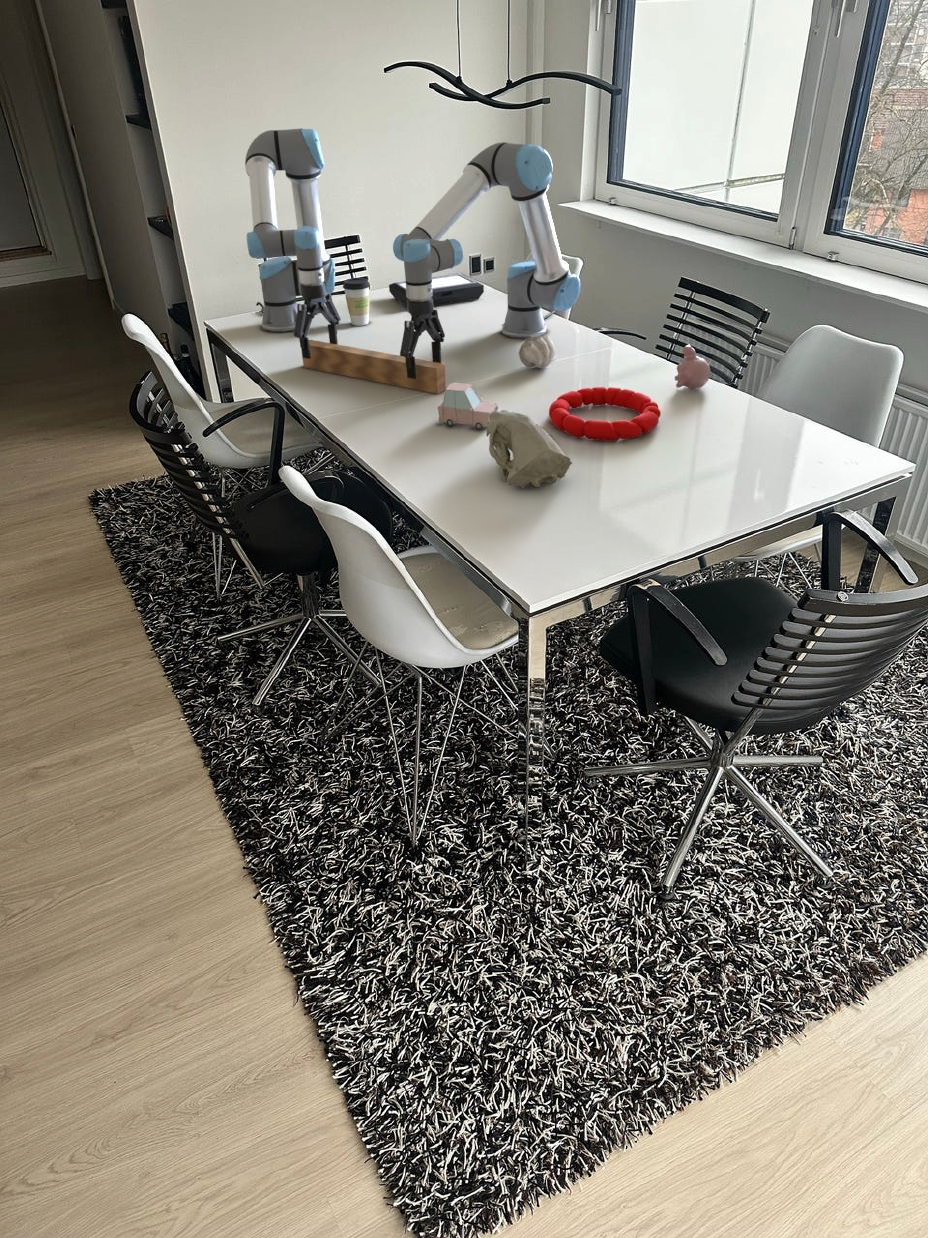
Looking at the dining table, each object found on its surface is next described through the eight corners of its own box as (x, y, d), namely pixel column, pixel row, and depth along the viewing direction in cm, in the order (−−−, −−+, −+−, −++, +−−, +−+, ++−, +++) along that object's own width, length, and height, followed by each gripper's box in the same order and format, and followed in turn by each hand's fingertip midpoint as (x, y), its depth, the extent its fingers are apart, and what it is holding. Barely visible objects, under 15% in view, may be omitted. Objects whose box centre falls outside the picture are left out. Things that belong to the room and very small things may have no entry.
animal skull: (496, 517, 219) (521, 479, 201) (463, 429, 225) (484, 384, 207) (557, 503, 225) (586, 465, 206) (523, 417, 231) (549, 373, 212)
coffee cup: (372, 326, 323) (368, 283, 314) (345, 327, 323) (340, 284, 315) (374, 318, 331) (371, 276, 322) (348, 319, 331) (344, 277, 323)
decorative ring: (589, 435, 224) (684, 402, 234) (527, 398, 247) (617, 369, 256) (589, 461, 229) (683, 427, 238) (529, 422, 251) (617, 393, 260)
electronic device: (407, 294, 335) (388, 282, 350) (408, 310, 338) (389, 298, 353) (483, 282, 345) (462, 272, 360) (483, 299, 348) (463, 287, 364)
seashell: (509, 366, 283) (509, 335, 277) (548, 358, 288) (549, 327, 283) (526, 376, 275) (526, 344, 269) (566, 367, 281) (567, 335, 275)
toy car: (488, 432, 240) (488, 396, 234) (436, 426, 244) (434, 390, 239) (499, 419, 247) (499, 384, 241) (448, 413, 252) (447, 379, 246)
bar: (303, 367, 289) (300, 343, 284) (312, 362, 292) (309, 339, 287) (437, 393, 265) (436, 368, 261) (445, 388, 269) (444, 363, 264)
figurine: (665, 387, 264) (669, 347, 257) (693, 380, 268) (698, 340, 261) (686, 396, 257) (690, 355, 250) (714, 388, 262) (720, 348, 255)
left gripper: (294, 294, 262) (304, 365, 275) (347, 274, 279) (353, 341, 292) (275, 291, 266) (285, 361, 278) (328, 271, 283) (335, 338, 295)
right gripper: (405, 311, 244) (411, 386, 257) (454, 288, 261) (457, 359, 274) (383, 308, 248) (390, 382, 260) (433, 285, 265) (436, 356, 277)
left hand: (320, 351), depth 285 cm, fingers open, 13 cm apart
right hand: (424, 370), depth 267 cm, fingers open, 13 cm apart
